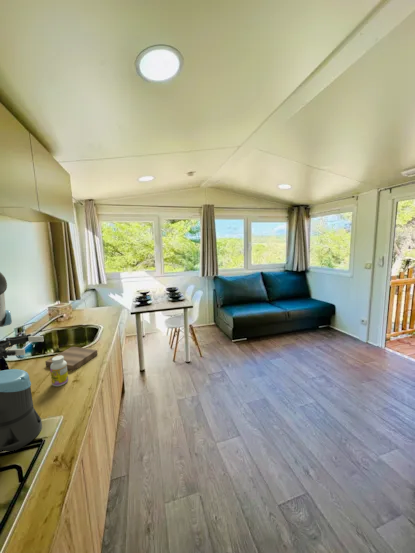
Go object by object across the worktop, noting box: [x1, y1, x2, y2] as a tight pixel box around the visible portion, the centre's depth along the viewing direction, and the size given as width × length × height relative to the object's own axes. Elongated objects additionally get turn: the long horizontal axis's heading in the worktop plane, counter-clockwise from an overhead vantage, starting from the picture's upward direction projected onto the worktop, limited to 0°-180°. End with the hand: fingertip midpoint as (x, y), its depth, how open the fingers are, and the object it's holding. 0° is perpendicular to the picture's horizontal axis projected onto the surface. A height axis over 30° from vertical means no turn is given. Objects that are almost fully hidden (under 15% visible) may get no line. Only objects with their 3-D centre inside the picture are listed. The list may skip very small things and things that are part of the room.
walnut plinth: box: [45, 346, 99, 372], centre depth 133 cm, size 18×18×3 cm
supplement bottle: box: [49, 355, 69, 387], centre depth 112 cm, size 7×7×13 cm
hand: (34, 344), depth 109 cm, fingers open, 13 cm apart
